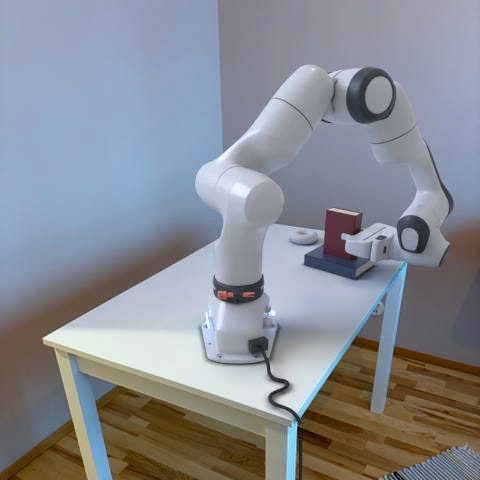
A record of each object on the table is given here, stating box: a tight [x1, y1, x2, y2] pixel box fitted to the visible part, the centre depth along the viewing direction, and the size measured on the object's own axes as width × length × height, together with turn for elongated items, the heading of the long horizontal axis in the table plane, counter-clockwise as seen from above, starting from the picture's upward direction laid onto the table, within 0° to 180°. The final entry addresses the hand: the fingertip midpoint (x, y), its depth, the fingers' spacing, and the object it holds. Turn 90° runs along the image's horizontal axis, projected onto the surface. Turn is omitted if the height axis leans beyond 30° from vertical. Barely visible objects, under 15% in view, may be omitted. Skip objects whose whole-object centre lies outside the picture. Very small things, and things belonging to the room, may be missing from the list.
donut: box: [289, 228, 319, 245], centre depth 166 cm, size 10×3×10 cm
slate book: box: [303, 243, 375, 280], centre depth 147 cm, size 13×18×4 cm
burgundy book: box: [323, 206, 364, 261], centre depth 142 cm, size 4×10×14 cm, turn 50°
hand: (346, 233), depth 141 cm, fingers closed on burgundy book, 4 cm apart
